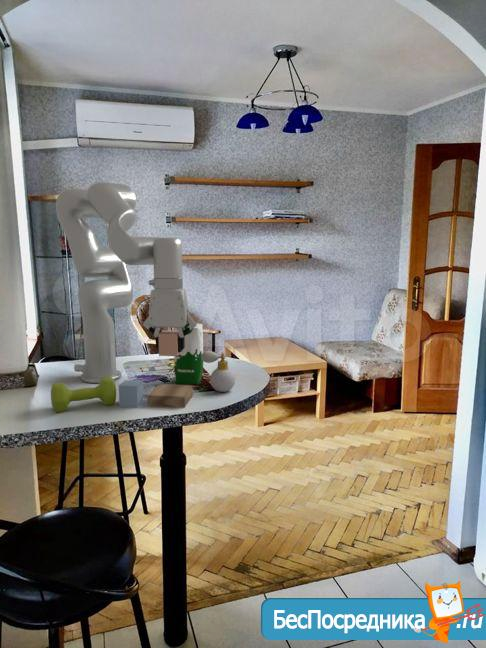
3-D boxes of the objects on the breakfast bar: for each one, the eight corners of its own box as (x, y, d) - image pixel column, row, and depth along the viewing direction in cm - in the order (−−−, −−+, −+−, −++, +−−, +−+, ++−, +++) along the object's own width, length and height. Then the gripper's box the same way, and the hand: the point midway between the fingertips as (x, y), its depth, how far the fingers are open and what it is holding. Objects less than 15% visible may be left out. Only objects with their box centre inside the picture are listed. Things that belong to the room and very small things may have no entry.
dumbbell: (52, 416, 120) (51, 389, 119) (51, 406, 128) (49, 380, 126) (118, 407, 127) (117, 381, 126) (113, 398, 134) (112, 373, 133)
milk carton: (172, 384, 147) (170, 321, 143) (179, 376, 156) (177, 316, 152) (200, 385, 146) (199, 321, 142) (205, 377, 155) (204, 316, 151)
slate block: (119, 407, 127) (118, 385, 126) (125, 400, 132) (125, 380, 131) (137, 407, 127) (136, 386, 126) (143, 401, 132) (142, 380, 130)
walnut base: (148, 405, 128) (148, 395, 127) (158, 394, 138) (158, 384, 137) (184, 407, 127) (184, 396, 126) (192, 395, 137) (192, 385, 136)
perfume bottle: (238, 393, 139) (238, 353, 137) (206, 396, 136) (206, 355, 134) (231, 385, 146) (231, 347, 144) (200, 388, 143) (199, 350, 141)
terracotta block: (159, 355, 128) (158, 333, 127) (164, 351, 132) (163, 330, 131) (177, 356, 127) (176, 334, 126) (181, 351, 132) (181, 330, 131)
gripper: (132, 285, 124) (135, 353, 127) (197, 286, 122) (198, 355, 125) (141, 283, 131) (144, 347, 134) (202, 283, 129) (203, 348, 132)
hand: (170, 350), depth 130 cm, fingers closed on terracotta block, 5 cm apart
